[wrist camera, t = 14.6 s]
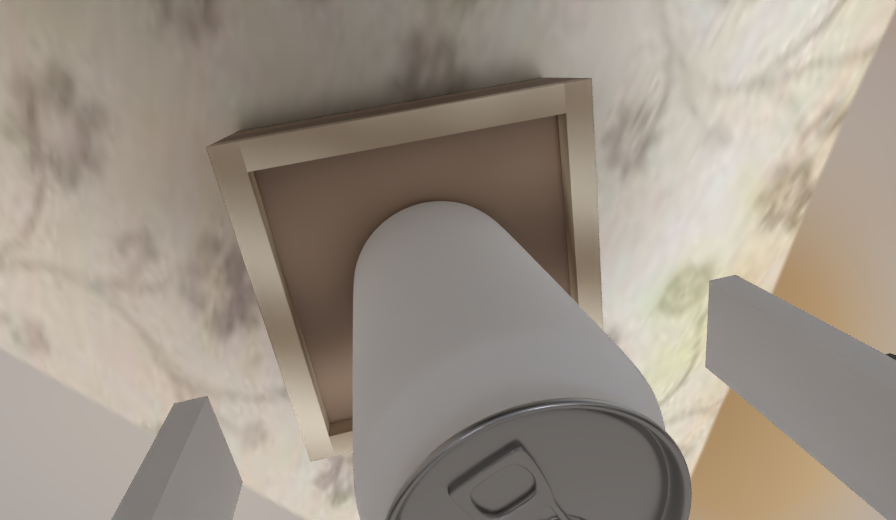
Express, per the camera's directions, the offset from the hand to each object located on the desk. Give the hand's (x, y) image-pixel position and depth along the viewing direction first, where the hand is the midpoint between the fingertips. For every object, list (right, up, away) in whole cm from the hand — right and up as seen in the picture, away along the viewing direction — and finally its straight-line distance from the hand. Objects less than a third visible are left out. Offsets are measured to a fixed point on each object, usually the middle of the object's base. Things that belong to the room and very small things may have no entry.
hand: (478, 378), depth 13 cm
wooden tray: (-2, +4, +10) cm, 11 cm away
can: (-1, +2, +7) cm, 7 cm away
